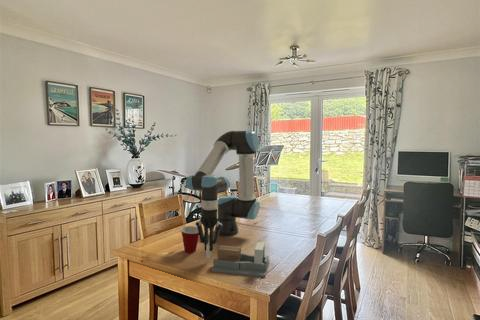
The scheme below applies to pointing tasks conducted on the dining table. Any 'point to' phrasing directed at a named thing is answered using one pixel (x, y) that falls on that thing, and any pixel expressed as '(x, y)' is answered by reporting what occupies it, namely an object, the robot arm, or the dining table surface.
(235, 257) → the brown rectangular block
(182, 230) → the plastic cup
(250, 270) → the grey grooved base
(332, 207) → the dining table surface
